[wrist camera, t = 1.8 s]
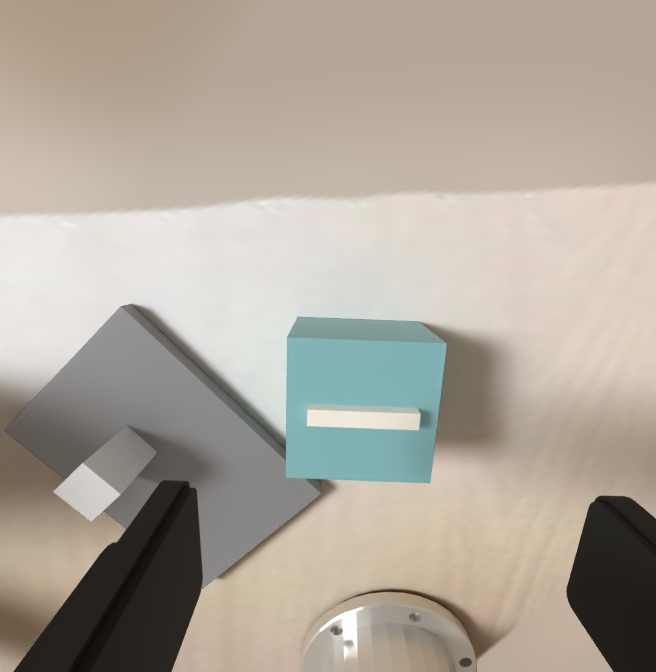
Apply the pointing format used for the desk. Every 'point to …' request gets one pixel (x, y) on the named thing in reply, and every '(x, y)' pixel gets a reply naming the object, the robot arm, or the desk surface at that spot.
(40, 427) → the board
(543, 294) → the desk surface
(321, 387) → the teal box
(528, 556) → the desk surface
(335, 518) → the desk surface
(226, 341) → the desk surface
